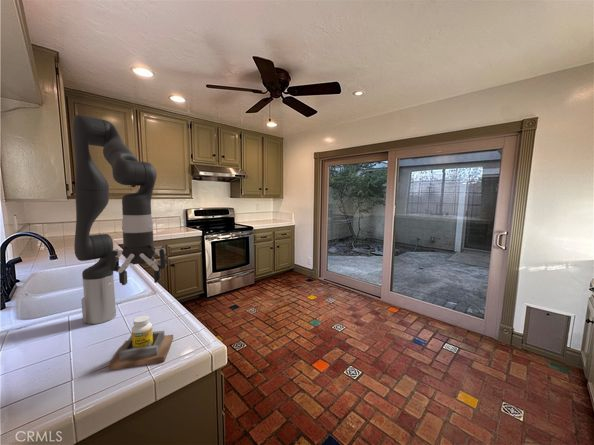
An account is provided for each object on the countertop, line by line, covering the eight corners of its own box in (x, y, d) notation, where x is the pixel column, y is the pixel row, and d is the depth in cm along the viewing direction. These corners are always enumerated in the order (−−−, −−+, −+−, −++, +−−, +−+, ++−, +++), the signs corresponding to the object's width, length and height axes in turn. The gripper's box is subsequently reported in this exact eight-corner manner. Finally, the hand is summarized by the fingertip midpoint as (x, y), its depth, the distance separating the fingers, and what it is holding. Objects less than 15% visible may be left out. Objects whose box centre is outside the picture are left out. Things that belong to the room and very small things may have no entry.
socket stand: (108, 370, 67) (107, 356, 67) (125, 344, 79) (125, 333, 78) (164, 361, 71) (163, 348, 71) (173, 338, 83) (172, 327, 82)
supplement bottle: (152, 341, 79) (151, 312, 78) (153, 349, 74) (152, 320, 73) (132, 346, 76) (130, 317, 75) (132, 356, 71) (130, 325, 70)
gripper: (167, 227, 77) (169, 277, 79) (115, 228, 73) (118, 280, 75) (161, 231, 70) (163, 285, 72) (103, 232, 66) (107, 289, 68)
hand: (140, 283), depth 73 cm, fingers open, 8 cm apart
